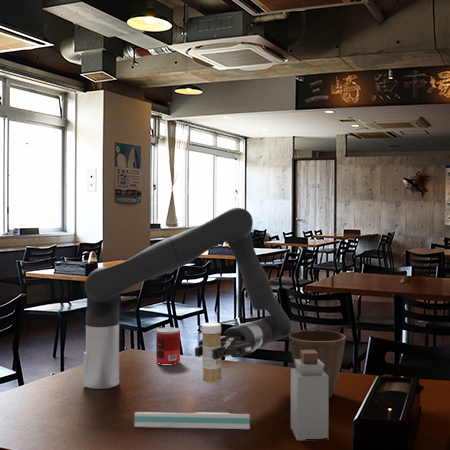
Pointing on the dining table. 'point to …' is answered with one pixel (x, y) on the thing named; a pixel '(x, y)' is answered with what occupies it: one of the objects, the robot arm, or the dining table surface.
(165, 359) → the canned food
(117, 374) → the robot arm
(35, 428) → the dining table surface
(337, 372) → the plant pot
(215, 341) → the sprinkles bottle
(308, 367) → the perfume bottle
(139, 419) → the rail
